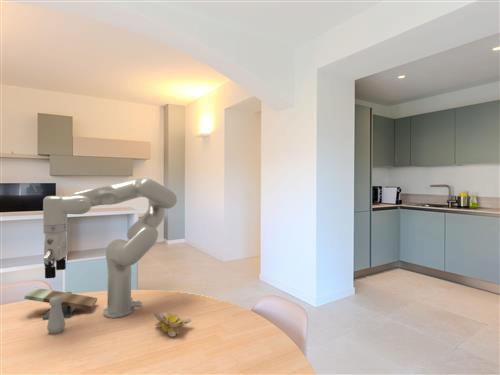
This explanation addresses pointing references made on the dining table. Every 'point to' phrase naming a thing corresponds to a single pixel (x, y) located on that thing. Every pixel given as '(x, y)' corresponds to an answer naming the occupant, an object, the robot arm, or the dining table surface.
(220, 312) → the dining table surface
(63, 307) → the beam stand
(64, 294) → the balance beam
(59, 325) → the salt shaker
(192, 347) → the dining table surface
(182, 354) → the dining table surface
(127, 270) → the robot arm
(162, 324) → the decorative flower
